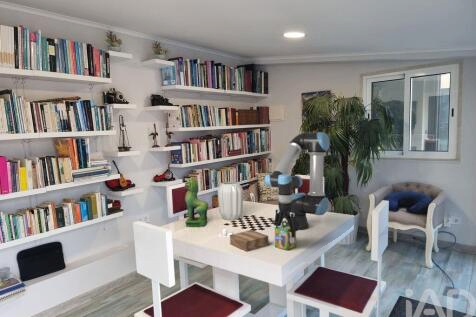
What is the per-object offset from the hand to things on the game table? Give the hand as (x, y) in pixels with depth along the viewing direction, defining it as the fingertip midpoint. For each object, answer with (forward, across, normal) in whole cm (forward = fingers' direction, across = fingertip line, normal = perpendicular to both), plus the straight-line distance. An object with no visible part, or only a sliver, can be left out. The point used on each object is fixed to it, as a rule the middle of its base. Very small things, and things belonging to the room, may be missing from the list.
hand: (285, 240), depth 191 cm
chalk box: (+4, 0, 0) cm, 4 cm away
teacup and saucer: (+4, -38, -16) cm, 41 cm away
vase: (+4, -73, +12) cm, 74 cm away
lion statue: (+4, -74, -17) cm, 76 cm away
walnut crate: (+4, -16, -14) cm, 22 cm away
